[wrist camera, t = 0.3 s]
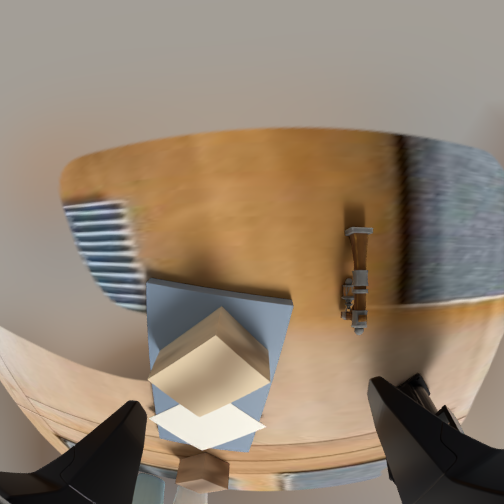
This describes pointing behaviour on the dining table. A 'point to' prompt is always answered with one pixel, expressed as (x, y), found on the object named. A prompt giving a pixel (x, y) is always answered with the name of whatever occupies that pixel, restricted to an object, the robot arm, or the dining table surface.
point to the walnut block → (203, 473)
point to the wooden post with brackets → (357, 280)
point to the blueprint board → (184, 318)
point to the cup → (148, 490)
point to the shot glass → (189, 497)
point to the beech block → (211, 365)
